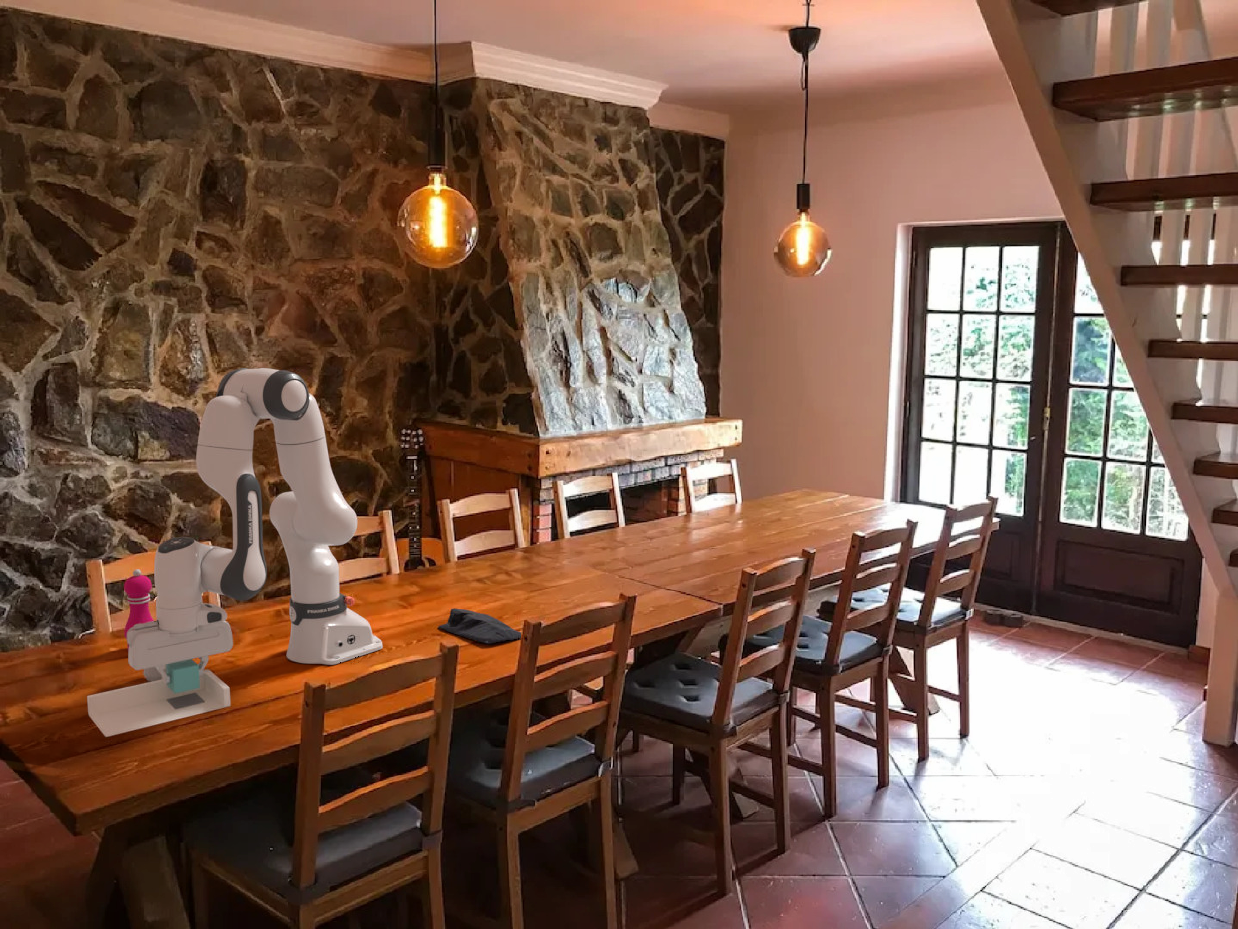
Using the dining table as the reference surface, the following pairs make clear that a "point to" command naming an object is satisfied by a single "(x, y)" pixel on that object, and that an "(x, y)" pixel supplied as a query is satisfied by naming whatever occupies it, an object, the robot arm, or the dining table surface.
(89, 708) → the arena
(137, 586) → the pepper mill
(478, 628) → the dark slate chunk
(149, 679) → the salt shaker
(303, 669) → the dining table surface
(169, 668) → the cube
